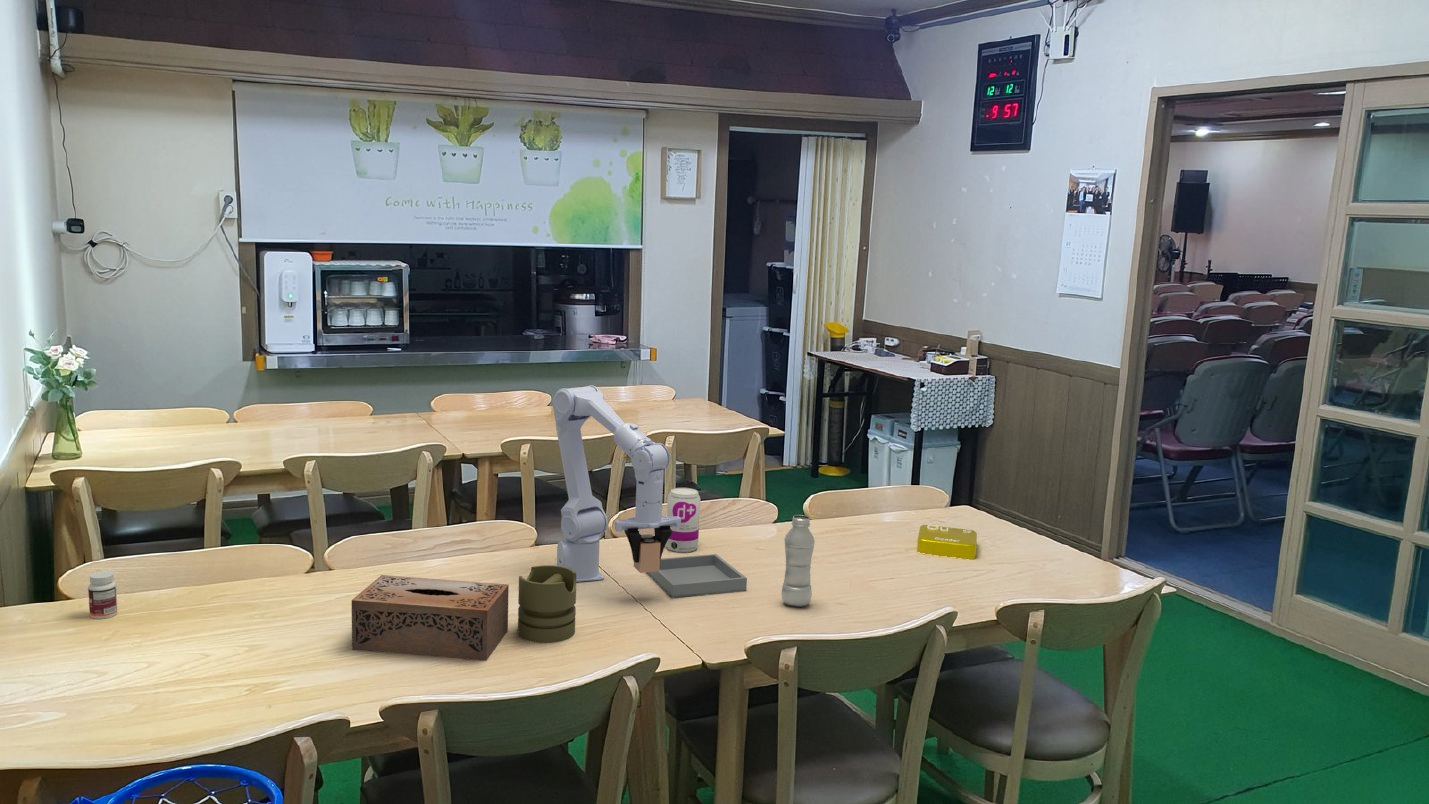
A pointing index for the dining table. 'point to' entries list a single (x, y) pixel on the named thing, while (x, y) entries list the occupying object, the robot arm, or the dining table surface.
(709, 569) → the tray
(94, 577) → the pill bottle
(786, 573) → the plastic bottle
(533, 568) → the piston
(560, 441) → the robot arm
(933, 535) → the element tile
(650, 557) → the shaker
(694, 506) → the supplement can
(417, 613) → the tissue box cover
